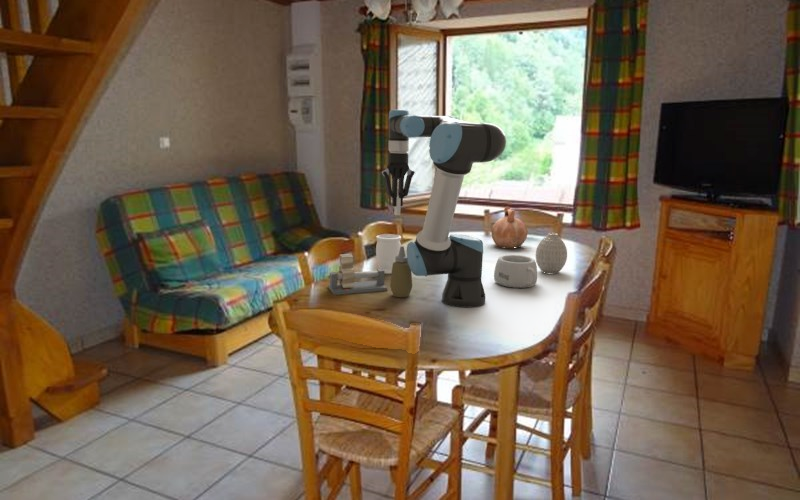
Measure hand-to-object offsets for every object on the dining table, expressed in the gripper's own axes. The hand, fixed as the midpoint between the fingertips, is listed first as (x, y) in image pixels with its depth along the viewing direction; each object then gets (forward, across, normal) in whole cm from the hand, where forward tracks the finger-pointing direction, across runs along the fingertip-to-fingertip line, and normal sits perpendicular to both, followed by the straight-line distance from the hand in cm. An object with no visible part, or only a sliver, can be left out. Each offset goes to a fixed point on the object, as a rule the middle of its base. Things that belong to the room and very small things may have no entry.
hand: (397, 214), depth 216 cm
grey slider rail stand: (+26, +18, +6) cm, 32 cm away
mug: (+27, -43, +20) cm, 55 cm away
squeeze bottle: (+27, +5, +19) cm, 33 cm away
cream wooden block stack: (+24, +22, +6) cm, 33 cm away
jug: (+26, -78, -42) cm, 93 cm away
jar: (+26, -2, -14) cm, 30 cm away
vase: (+26, -67, +8) cm, 73 cm away
